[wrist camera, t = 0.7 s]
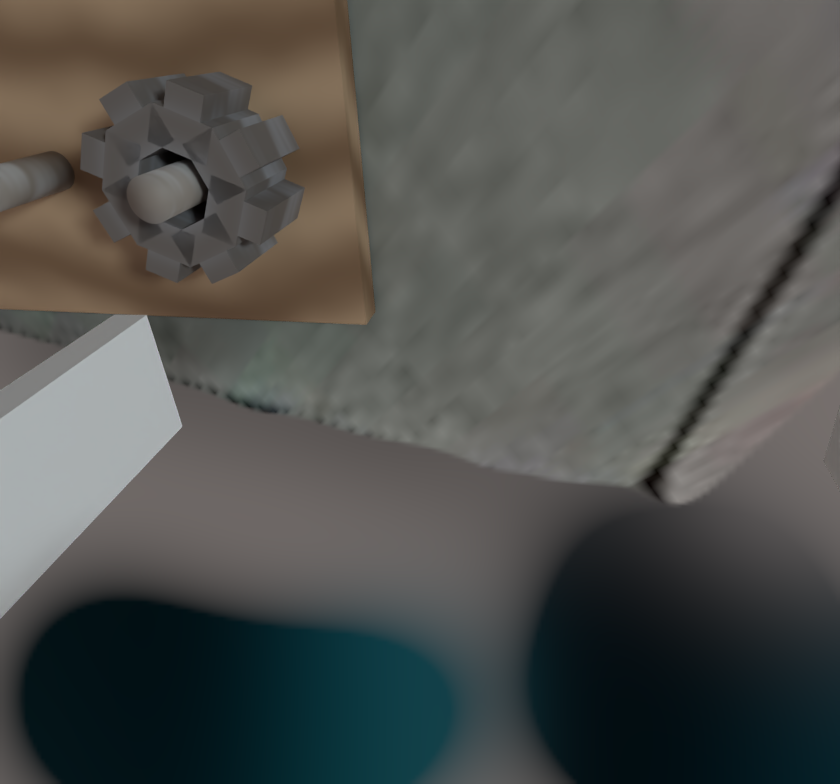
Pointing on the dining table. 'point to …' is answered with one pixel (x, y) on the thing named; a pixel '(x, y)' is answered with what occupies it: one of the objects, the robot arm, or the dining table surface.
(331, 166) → the gear board
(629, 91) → the dining table surface
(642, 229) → the dining table surface
